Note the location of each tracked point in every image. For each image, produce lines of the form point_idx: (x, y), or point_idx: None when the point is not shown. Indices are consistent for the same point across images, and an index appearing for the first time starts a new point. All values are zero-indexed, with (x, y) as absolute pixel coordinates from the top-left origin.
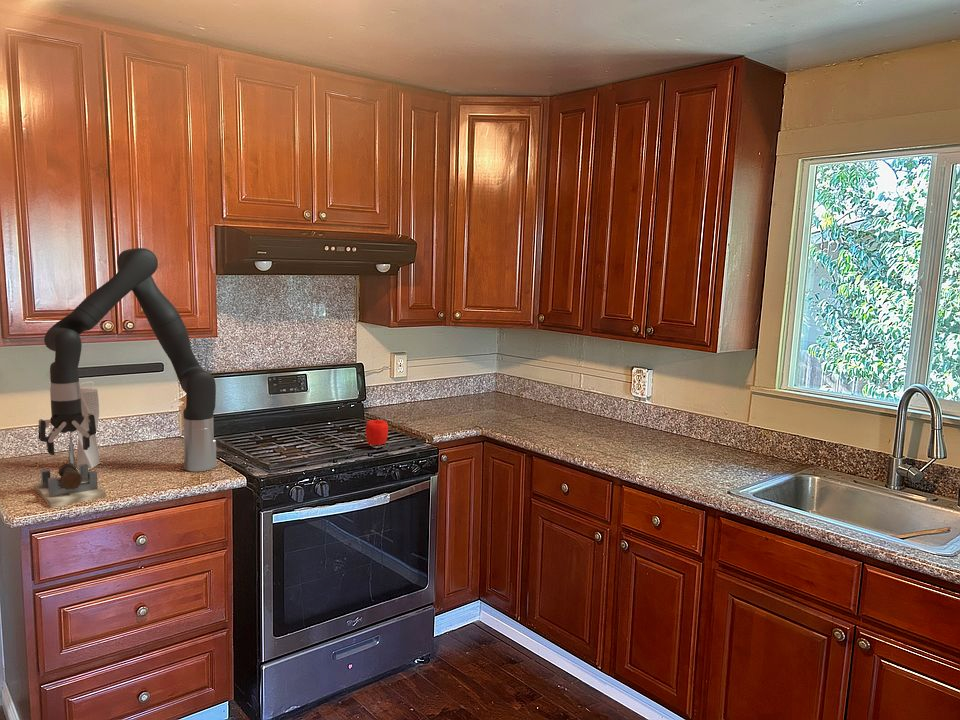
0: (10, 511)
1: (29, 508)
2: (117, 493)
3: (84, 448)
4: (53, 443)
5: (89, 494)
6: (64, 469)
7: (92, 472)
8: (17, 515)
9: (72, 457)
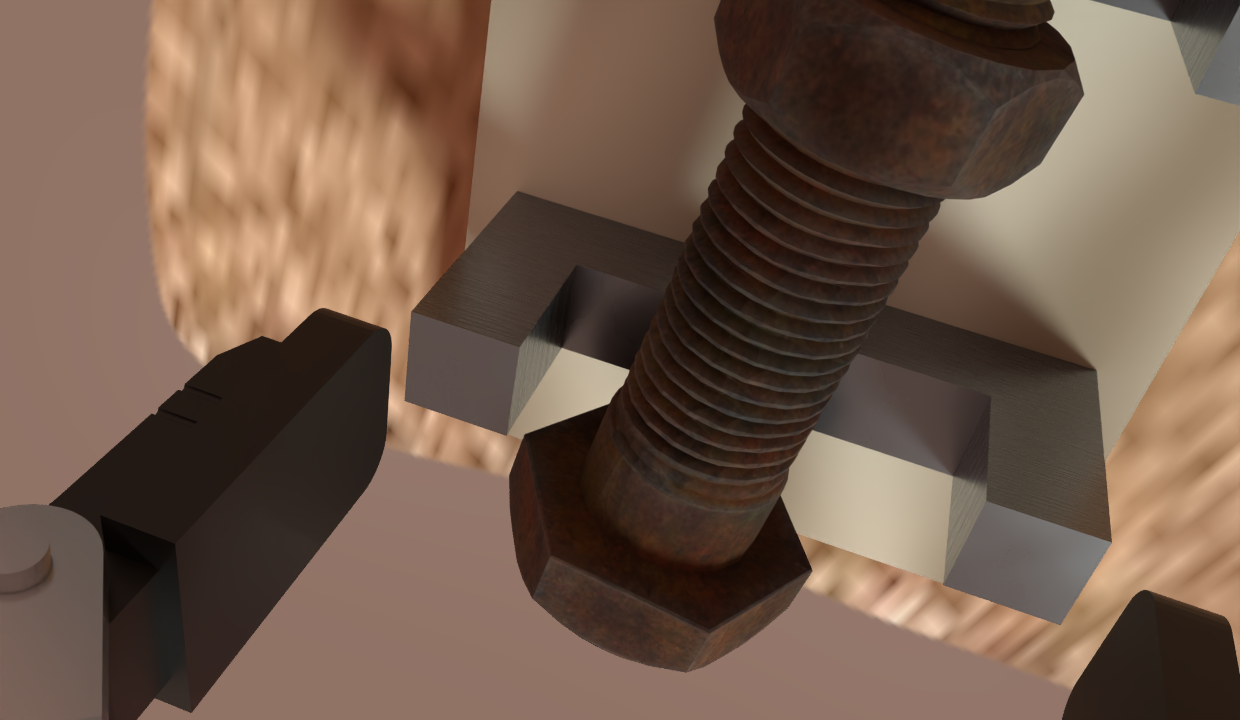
0: (155, 174)
1: (313, 236)
2: (1215, 555)
3: (1080, 715)
4: (195, 693)
5: (856, 521)
6: (757, 172)
7: (1021, 570)
8: (194, 324)
9: None
